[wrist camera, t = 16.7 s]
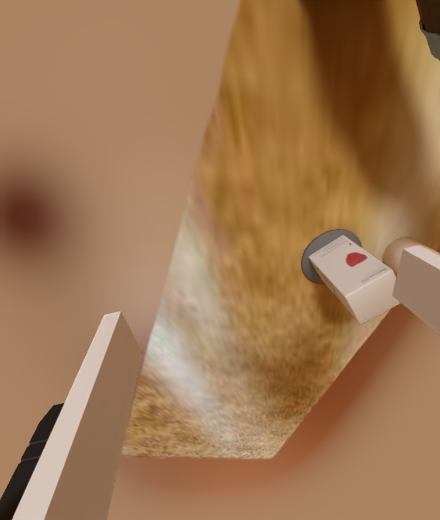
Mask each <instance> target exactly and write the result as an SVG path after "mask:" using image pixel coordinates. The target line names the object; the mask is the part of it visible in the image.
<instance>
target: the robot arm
mask: <svg viewBox="0 0 440 520" xmlns="http://www.w3.org/2000/svg"><path fill="white" fill-rule="evenodd" d="M416 3H417V7H418V11H419V15H420V21H419V25H420V29H421V31H422V32H423V33H424V35H425V36H426V39H427V42H428V45H429V48H430V51H431V54H432V55H433V56H434V57H435V58H437V59H439V60H440V0H416ZM392 296H393V297H394V298H396V299H397V300H398V301H399V302H400V303H402V304H403V305H404V306H405V307H407V308H408V309H409V310H410V311H412V312H413V313H414V314H415V315H416V316H417V317H419V318H420V319H421V320H422V321H423V322H425V323H426V324H427V325H428V326H430V327H431V328H432V329H433V330H434V331H436V332H437V333H438V334H439V335H440V256H439V255H437V254H435V253H433V252H431V251H429V250H428V249H426V248H424V247H422V246H420V245H418V246H413V247H409V248H404V249H403V251H402V255H401V259H400V264H399V268H398V272H397V277H396V281H395V285H394V290H393V294H392ZM141 354H142V350H141V348H140V346H139V345H138V343H137V341H136V339H135V337H134V335H133V333H132V331H131V329H130V327H129V326H128V324H127V322H126V320H125V318H124V316H123V315H122V312H121V311H120V312H115V313H111V314H107V315H104V317H103V319H102V321H101V324H100V326H99V328H98V330H97V332H96V335H95V337H94V339H93V341H92V343H91V346H90V348H89V350H88V352H87V355H86V357H85V359H84V361H83V363H82V366H81V368H80V370H79V372H78V374H77V377H76V379H75V381H74V383H73V386H72V388H71V390H70V392H69V394H68V397H67V399H66V401H65V403H62V404H58V405H54V406H53V407H52V408H51V409H50V410H49V411H48V413H47V414H46V415H45V416H44V418H43V419H42V420H41V421H40V423H39V424H38V426H37V429H36V430H35V432H34V434H33V436H32V438H31V440H30V442H29V443H30V445H29V446H28V447H27V448H26V450H25V452H24V454H23V456H22V458H21V463H20V464H18V466H17V468H16V470H15V472H14V474H13V476H12V478H11V480H10V482H9V484H8V486H7V488H6V490H5V492H4V494H3V496H2V497H1V500H0V520H107V517H108V511H109V507H110V503H111V498H112V493H113V488H114V483H115V479H116V474H117V469H118V464H119V459H120V455H121V450H122V445H123V440H124V436H125V431H126V426H127V421H128V416H129V412H130V407H131V402H132V397H133V392H134V388H135V383H136V378H137V373H138V369H139V363H140V359H141Z"/></svg>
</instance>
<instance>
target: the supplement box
mask: <svg viewBox="0 0 440 520" xmlns="http://www.w3.org/2000/svg"><path fill="white" fill-rule="evenodd" d="M308 258H309V260H310V261H311V263H312V264H313V266H314V268H315V269H316V271H317V273H318V274H319V276H320V278H321V279H322V281H323V282H324V283H325V284H326V285H327V286H328V288H329V289H330V290H331V291H332V292H333V293H334V295H335V296H336V297H337V298H338V299H339V301H340V302H341V303H342V304H343V305H344V306H345V308H346V309H347V310H348V311H349V312H350V313H351V315H352V316H353V317H354V318H355V319H356V321H357V322H358V323H359V324H362V323H364V322H366V321H368V320H370V319H372V318H374V317H375V316H378V315H380V314H382V313H384V312H386V311H387V310H389V309H391V308H392V307H394V306H396V305H398V304H400V302H399V301H398V300H397V299H396V298H394V297H393V296H392V294H393V290H394V285H395V281H396V277H395V274H394V272H393V270H392V269H391V268H389V267H388V266H386V265H385V264H384V263H382V262H381V261H379V260H378V259H377V258H375V257H374V256H372V255H371V254H369V253H368V252H367V251H365V250H364V249H362V248H361V247H360V246H358V245H357V244H355V243H354V242H353V241H351V240H350V239H348V238H347V237H346V236H344V235H342V236H340V237H339V238H337V239H336V240H334V241H332V242H331V243H329V244H328V245H326V246H324V247H323V248H321V249H319V250H318V251H316V252H315V253H313V254H312V255H310V256H309V257H308Z"/></svg>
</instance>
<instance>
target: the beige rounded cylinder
mask: <svg viewBox="0 0 440 520" xmlns="http://www.w3.org/2000/svg"><path fill="white" fill-rule="evenodd" d="M418 245H420V246H422V247H424V248H426V249H428V250H429V251H431V252H433V253H435V254H437V255H439V256H440V253H439V252H437V251H435V250H433V249H431V248H429V247H427V246H425V245H423V244H421V243H419V242H417V241H415V240H413V239H411V238H400V239H398V240H396V241H394V242H393V243H391V244H390V245H389V246H388V247H387V248H386V250H385V252H384V254H383V258H382V259H383V263H384V264H385V265H386V266H388V267H389V268H391V269H392V270H393V271H394V272H396V273H397V272H398V268H399V264H400V259H401V255H402V251H403V249H404V248H409V247H413V246H418Z"/></svg>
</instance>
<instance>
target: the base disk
mask: <svg viewBox="0 0 440 520" xmlns="http://www.w3.org/2000/svg"><path fill="white" fill-rule="evenodd" d="M342 235H344V236H346V237H347V238H348V239H350V240H351V241H353V242H354V243H355V244H357V245H358V246H360V247H361V242H360V240H359V239H358V237H357V236H356V235H354V234H353V233H351V232H349V231H347V230H341V229H338V230H331V231H328V232H325V233H323V234H321V235H320V236H318V237H317V238H315V239H314V240H313V241H312V242H311V243H310V244H309V245H308V247H307V248H306V250H305V252H304V254H303V257H302V262H301V265H302V270H303V273H304V274H305V276H306V277H307V278H308V279H309V280H311V281H313V282H315V283H319V284H325V283H324V282H323V281H322V279H321V278H320V276H319V274H318V273H317V271H316V269H315V268H314V266H313V264H312V263H311V261H310V260H309V258H308V257H309V256H310V255H312V254H313V253H315V252H316V251H318V250H319V249H321V248H323V247H324V246H326V245H328V244H329V243H331V242H332V241H334V240H336V239H337V238H339V237H340V236H342ZM361 248H362V247H361Z"/></svg>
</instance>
